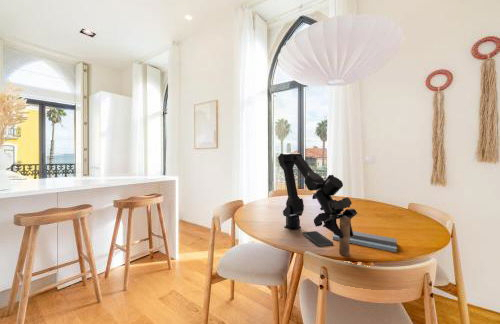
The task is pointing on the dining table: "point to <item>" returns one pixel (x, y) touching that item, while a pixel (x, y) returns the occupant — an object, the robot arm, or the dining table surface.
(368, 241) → the stand
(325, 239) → the phone
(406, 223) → the dining table surface
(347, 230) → the walnut dowel
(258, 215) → the dining table surface
